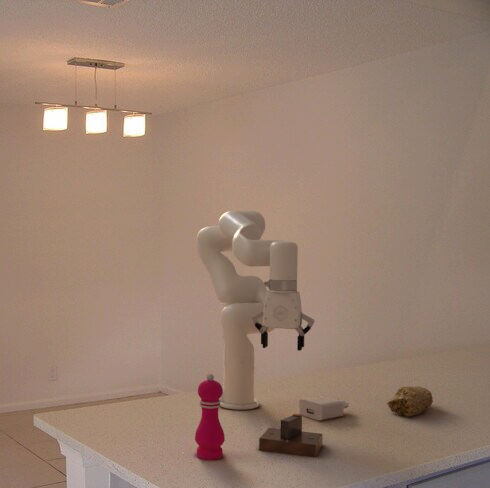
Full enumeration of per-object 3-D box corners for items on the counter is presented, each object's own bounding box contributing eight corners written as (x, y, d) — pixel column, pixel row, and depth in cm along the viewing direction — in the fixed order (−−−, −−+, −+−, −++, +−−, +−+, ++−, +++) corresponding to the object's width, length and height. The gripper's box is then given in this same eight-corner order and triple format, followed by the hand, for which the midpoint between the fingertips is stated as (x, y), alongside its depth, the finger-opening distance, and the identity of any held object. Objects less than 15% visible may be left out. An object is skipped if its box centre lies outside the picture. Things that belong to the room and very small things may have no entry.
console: (258, 450, 180) (258, 438, 180) (269, 438, 190) (269, 426, 190) (315, 457, 175) (315, 444, 175) (322, 444, 185) (323, 432, 185)
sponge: (419, 424, 209) (448, 398, 223) (413, 398, 208) (441, 374, 222) (379, 423, 218) (409, 398, 232) (372, 398, 218) (402, 375, 232)
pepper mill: (193, 451, 179) (193, 370, 179) (221, 450, 180) (222, 370, 179) (196, 460, 172) (197, 377, 171) (226, 460, 173) (227, 376, 172)
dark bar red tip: (288, 439, 179) (288, 420, 179) (280, 437, 180) (280, 419, 180) (301, 433, 184) (302, 414, 184) (294, 431, 186) (294, 413, 186)
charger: (358, 414, 215) (321, 421, 207) (335, 407, 223) (299, 414, 214) (358, 398, 215) (321, 405, 207) (335, 392, 222) (299, 398, 214)
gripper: (248, 286, 198) (248, 348, 199) (312, 289, 192) (311, 353, 192) (255, 284, 205) (255, 344, 206) (317, 286, 199) (316, 348, 199)
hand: (282, 348), depth 199 cm, fingers open, 9 cm apart
